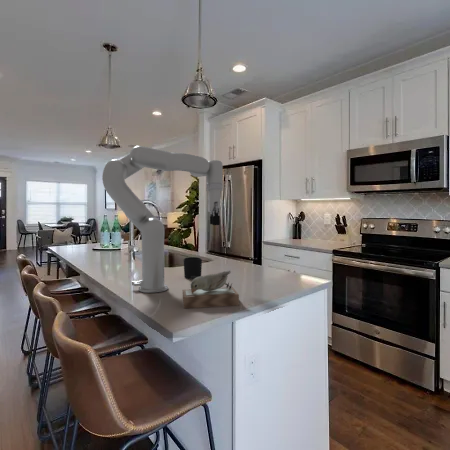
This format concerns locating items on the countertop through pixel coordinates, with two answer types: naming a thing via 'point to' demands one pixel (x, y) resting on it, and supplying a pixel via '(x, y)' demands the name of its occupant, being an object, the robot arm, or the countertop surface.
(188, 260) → the pen holder
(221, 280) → the decorative bird
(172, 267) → the countertop surface
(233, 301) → the walnut plinth
